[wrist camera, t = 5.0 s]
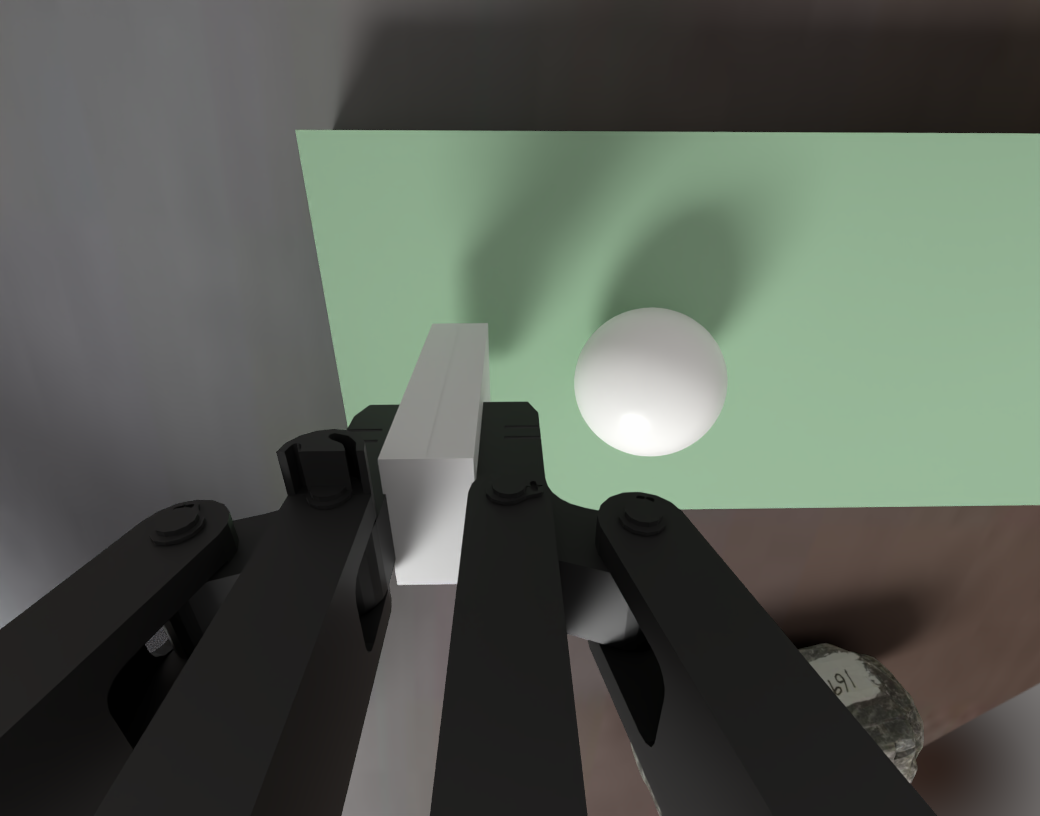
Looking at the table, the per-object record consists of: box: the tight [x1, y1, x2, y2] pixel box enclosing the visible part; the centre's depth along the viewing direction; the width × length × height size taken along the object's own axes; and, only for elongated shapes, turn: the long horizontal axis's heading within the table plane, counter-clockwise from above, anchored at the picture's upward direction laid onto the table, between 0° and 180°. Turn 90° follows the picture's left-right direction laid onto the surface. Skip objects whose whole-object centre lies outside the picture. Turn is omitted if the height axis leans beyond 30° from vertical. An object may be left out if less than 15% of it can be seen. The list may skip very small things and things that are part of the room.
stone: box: [631, 643, 924, 816], centre depth 26 cm, size 14×7×10 cm, turn 124°
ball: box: [574, 307, 728, 456], centre depth 14 cm, size 4×4×4 cm
